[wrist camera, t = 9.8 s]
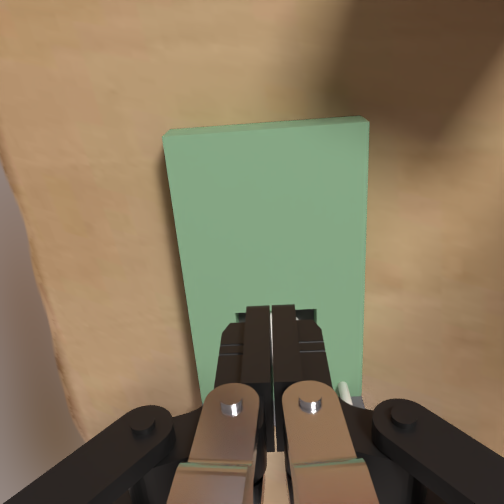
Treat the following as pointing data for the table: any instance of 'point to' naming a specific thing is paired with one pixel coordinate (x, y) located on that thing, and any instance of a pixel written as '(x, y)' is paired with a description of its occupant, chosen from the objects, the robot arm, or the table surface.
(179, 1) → the table surface
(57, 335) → the table surface
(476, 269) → the table surface
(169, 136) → the green
